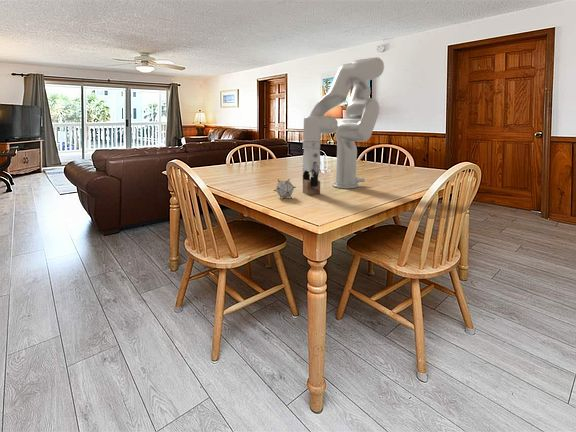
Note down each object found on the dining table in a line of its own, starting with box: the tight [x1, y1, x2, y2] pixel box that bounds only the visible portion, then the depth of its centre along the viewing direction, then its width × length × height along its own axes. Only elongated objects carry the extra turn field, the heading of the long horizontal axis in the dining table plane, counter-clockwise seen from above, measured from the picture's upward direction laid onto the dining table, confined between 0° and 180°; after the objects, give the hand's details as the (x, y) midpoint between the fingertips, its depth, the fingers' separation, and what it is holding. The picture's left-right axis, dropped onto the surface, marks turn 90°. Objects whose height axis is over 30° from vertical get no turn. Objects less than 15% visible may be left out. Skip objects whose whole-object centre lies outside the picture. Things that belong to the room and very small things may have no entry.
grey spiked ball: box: [273, 178, 297, 200], centre depth 152 cm, size 9×8×10 cm
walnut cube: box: [302, 178, 321, 196], centre depth 161 cm, size 6×6×6 cm
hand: (309, 184), depth 160 cm, fingers open, 9 cm apart
